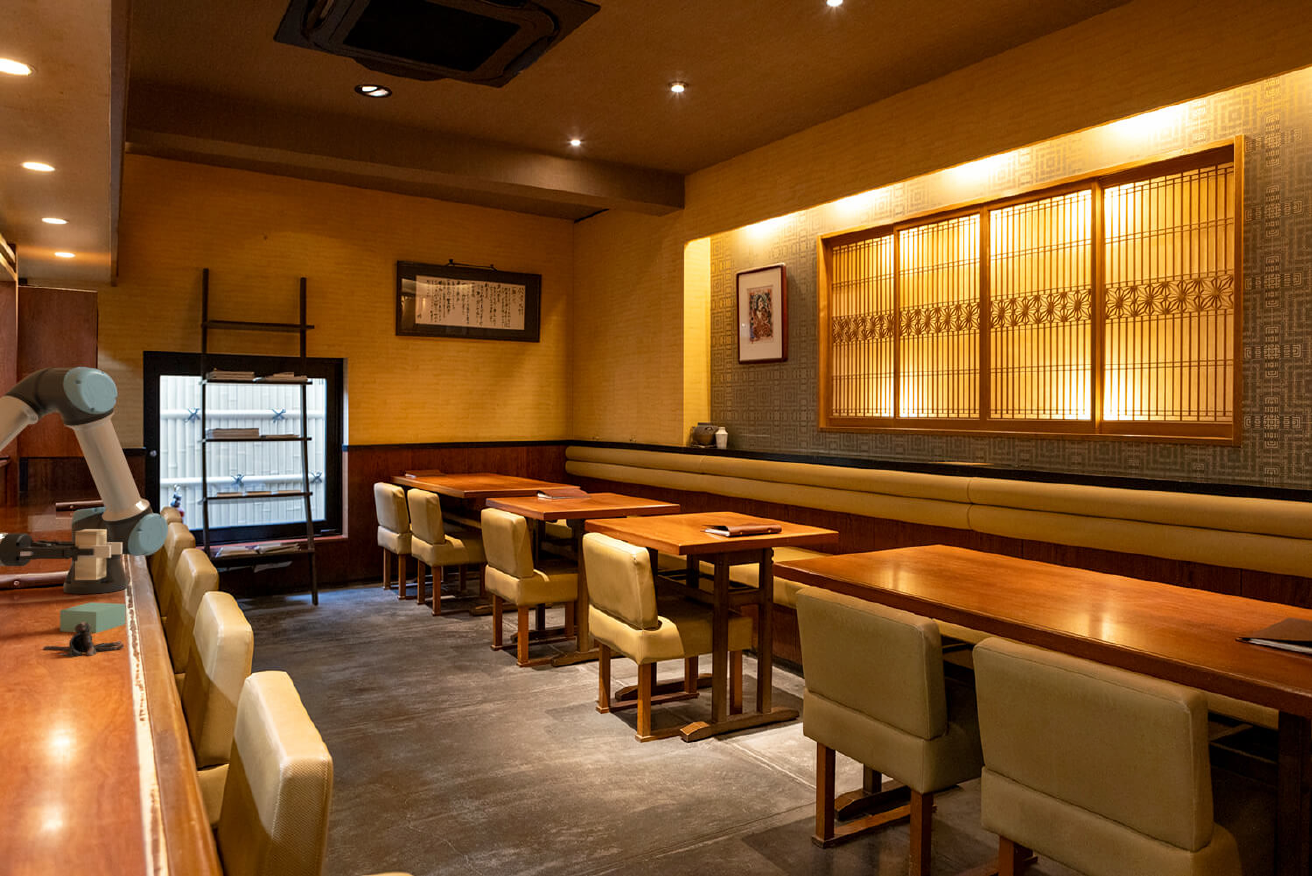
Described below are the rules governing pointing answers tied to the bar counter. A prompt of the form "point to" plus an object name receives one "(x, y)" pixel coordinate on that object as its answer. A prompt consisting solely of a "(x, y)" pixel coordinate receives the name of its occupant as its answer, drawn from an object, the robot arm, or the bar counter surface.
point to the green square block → (93, 616)
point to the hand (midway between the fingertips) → (115, 550)
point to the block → (90, 566)
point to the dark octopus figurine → (84, 643)
